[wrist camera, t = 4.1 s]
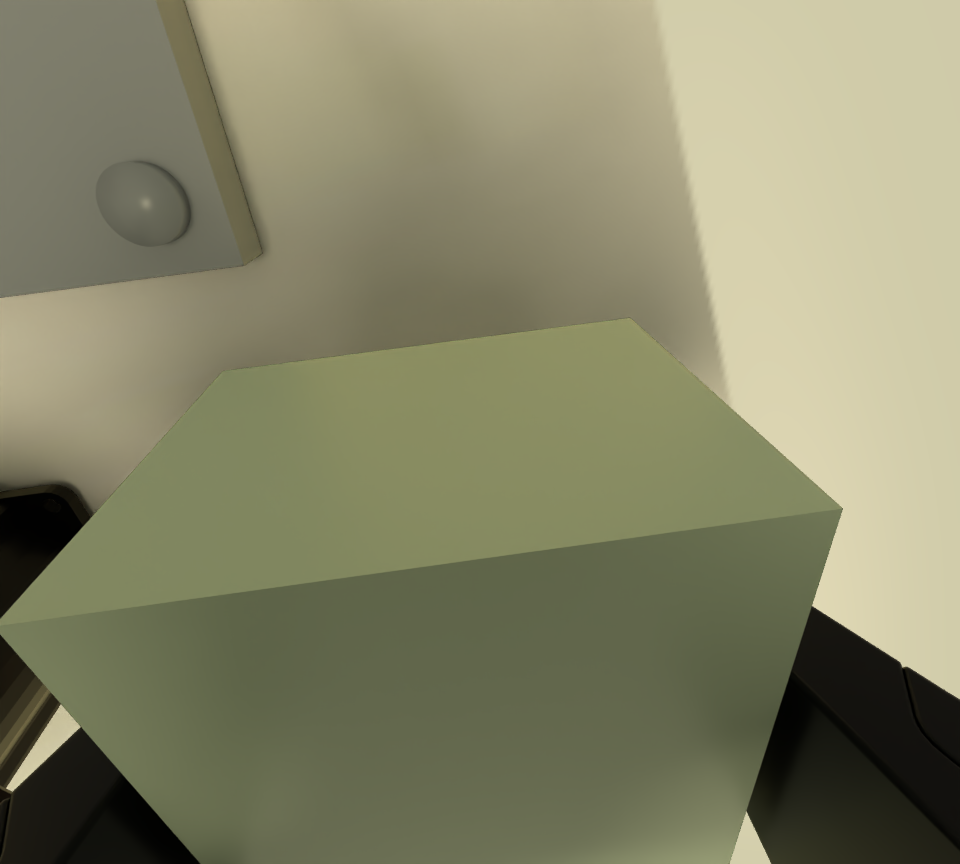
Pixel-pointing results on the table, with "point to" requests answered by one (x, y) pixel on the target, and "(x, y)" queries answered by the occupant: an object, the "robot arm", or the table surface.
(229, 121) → the table surface
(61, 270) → the baseplate
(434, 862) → the sage brick
